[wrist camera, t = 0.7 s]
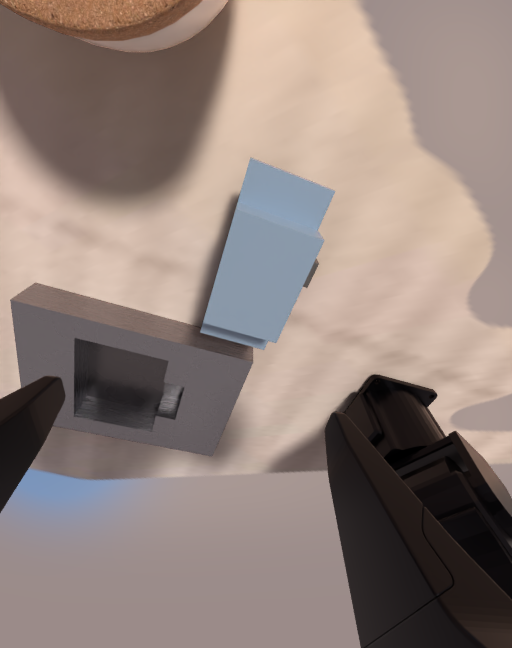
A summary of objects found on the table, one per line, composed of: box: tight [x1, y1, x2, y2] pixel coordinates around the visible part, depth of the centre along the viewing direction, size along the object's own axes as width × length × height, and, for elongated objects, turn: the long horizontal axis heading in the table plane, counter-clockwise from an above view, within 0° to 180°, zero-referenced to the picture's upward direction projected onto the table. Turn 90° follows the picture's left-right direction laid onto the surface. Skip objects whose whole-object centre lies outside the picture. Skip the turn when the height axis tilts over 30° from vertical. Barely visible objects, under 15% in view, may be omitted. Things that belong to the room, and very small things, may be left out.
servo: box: [200, 158, 335, 350], centre depth 17 cm, size 6×10×5 cm, turn 161°
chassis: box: [10, 283, 253, 456], centre depth 24 cm, size 16×12×2 cm
